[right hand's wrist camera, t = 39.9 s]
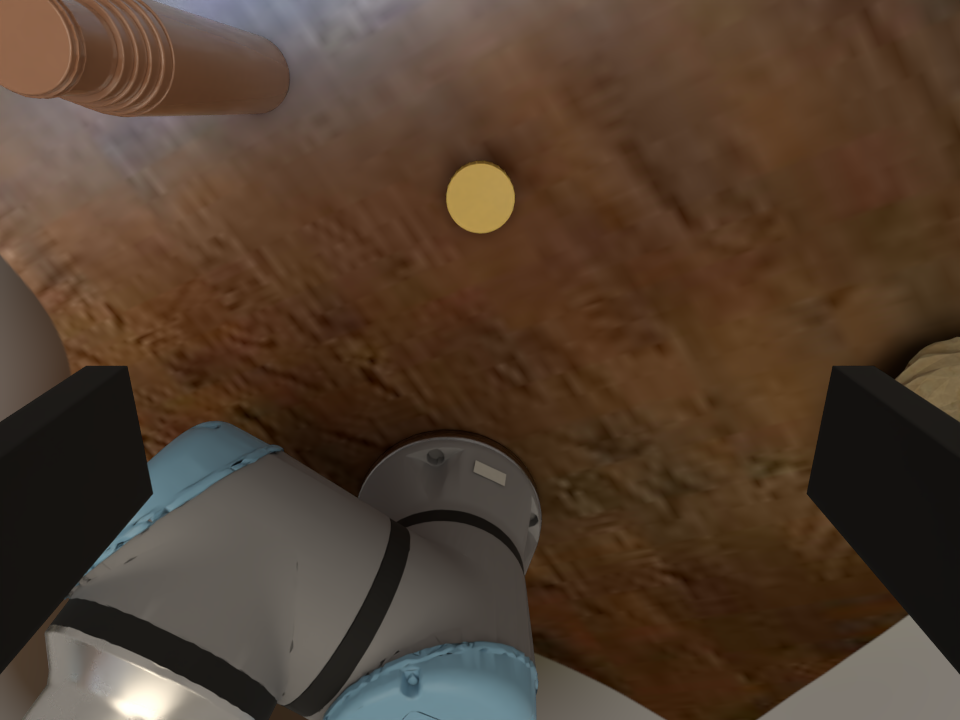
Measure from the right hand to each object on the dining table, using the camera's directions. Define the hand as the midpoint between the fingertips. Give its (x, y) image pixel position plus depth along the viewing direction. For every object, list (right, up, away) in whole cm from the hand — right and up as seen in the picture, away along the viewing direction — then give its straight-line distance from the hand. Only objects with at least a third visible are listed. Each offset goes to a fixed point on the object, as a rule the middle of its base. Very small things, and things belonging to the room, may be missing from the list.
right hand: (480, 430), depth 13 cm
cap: (0, +12, +32) cm, 34 cm away
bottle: (-15, +20, +31) cm, 40 cm away
